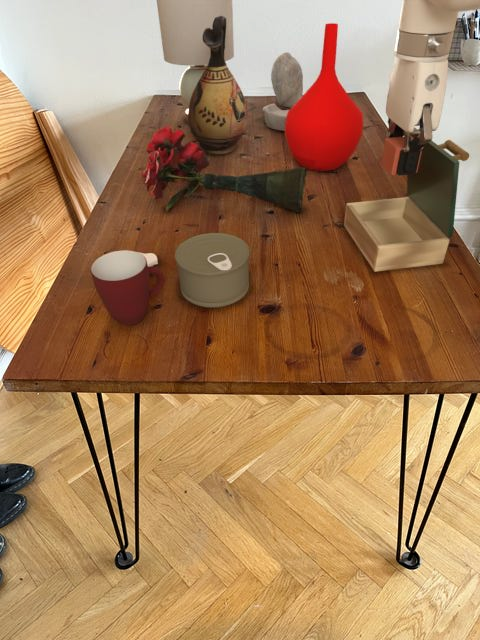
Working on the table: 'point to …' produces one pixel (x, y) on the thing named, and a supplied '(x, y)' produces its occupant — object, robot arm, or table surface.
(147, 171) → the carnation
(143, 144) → the table surface
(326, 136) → the vase
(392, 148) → the block
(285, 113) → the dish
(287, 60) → the decorative stone
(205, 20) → the lamp
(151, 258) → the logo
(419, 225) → the cream open box
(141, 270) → the mug
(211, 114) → the ceramic jug
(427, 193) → the cover
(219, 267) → the can
